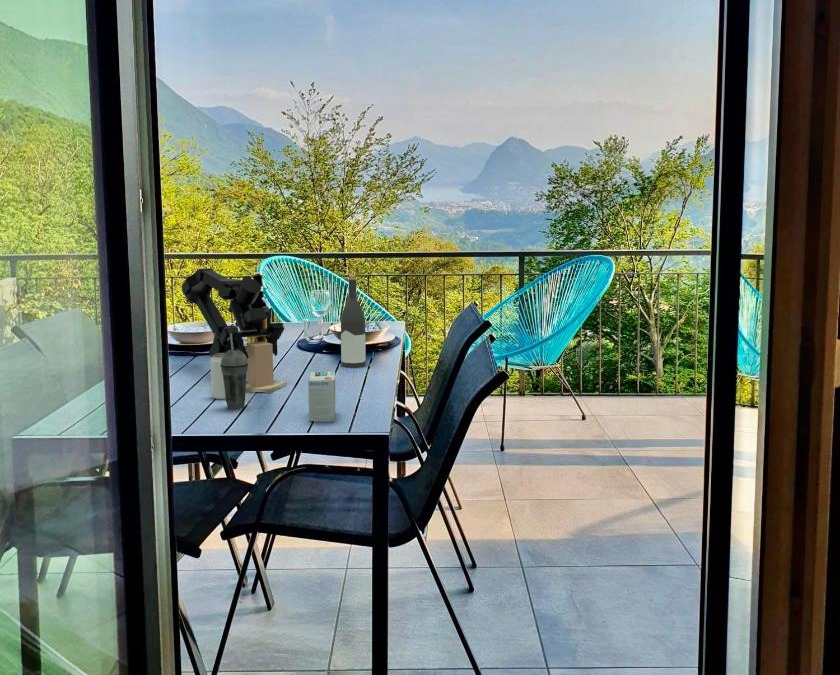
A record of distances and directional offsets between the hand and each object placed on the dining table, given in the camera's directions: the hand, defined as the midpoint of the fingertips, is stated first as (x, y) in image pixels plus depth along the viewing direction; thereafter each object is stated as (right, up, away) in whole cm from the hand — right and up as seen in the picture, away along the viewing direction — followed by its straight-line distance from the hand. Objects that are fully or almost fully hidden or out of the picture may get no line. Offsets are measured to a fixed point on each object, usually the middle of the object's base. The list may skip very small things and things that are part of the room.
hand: (262, 356), depth 253 cm
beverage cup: (-3, -13, -20) cm, 24 cm away
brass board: (-1, -9, +3) cm, 10 cm away
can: (-9, -11, -8) cm, 17 cm away
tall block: (-1, -8, +2) cm, 8 cm away
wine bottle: (+24, -4, +37) cm, 44 cm away
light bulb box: (+21, -15, -30) cm, 40 cm away
